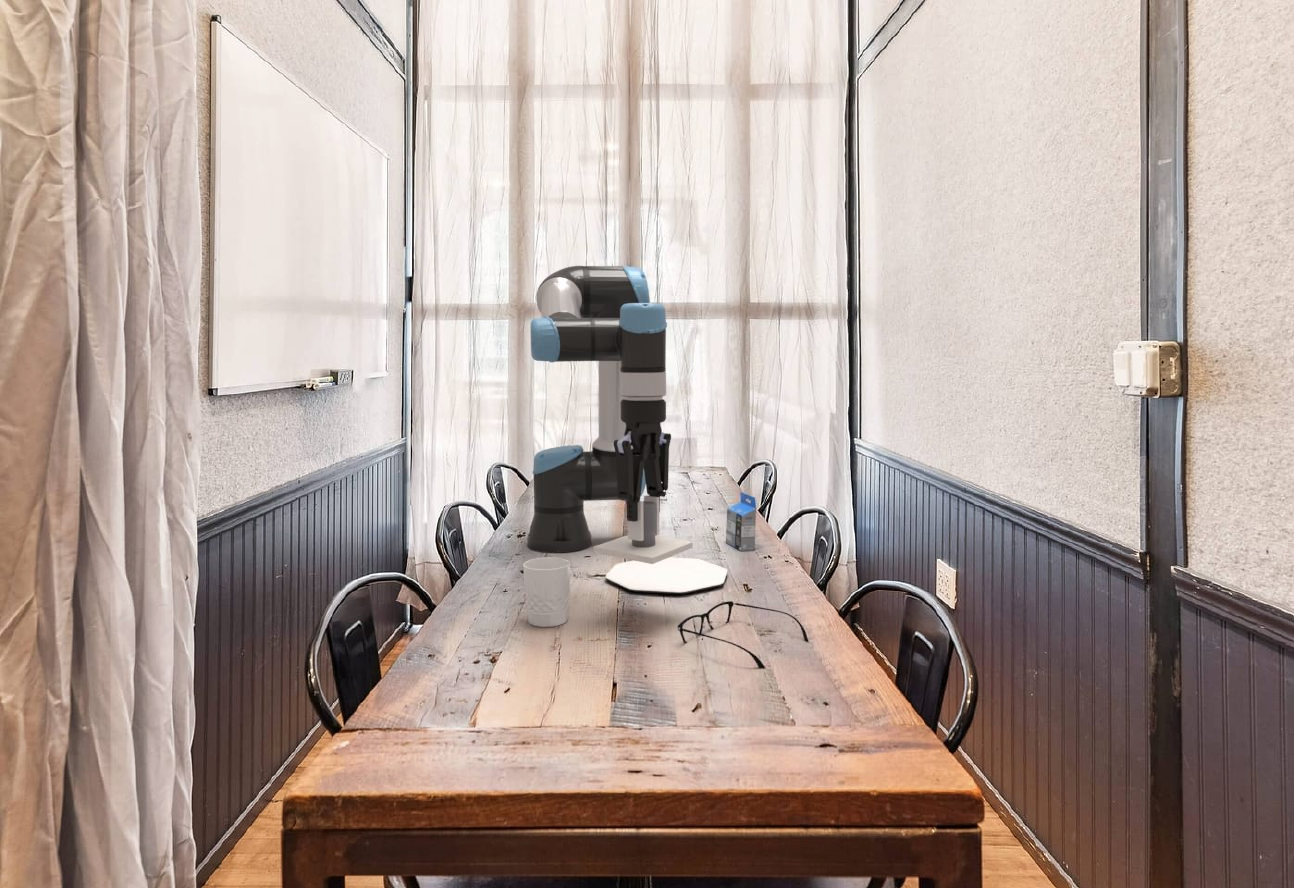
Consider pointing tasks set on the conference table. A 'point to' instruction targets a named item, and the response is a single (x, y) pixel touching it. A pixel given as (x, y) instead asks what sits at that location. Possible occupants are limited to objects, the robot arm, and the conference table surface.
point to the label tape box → (742, 524)
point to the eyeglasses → (730, 603)
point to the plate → (667, 576)
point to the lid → (644, 543)
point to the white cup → (547, 590)
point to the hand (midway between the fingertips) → (643, 536)
